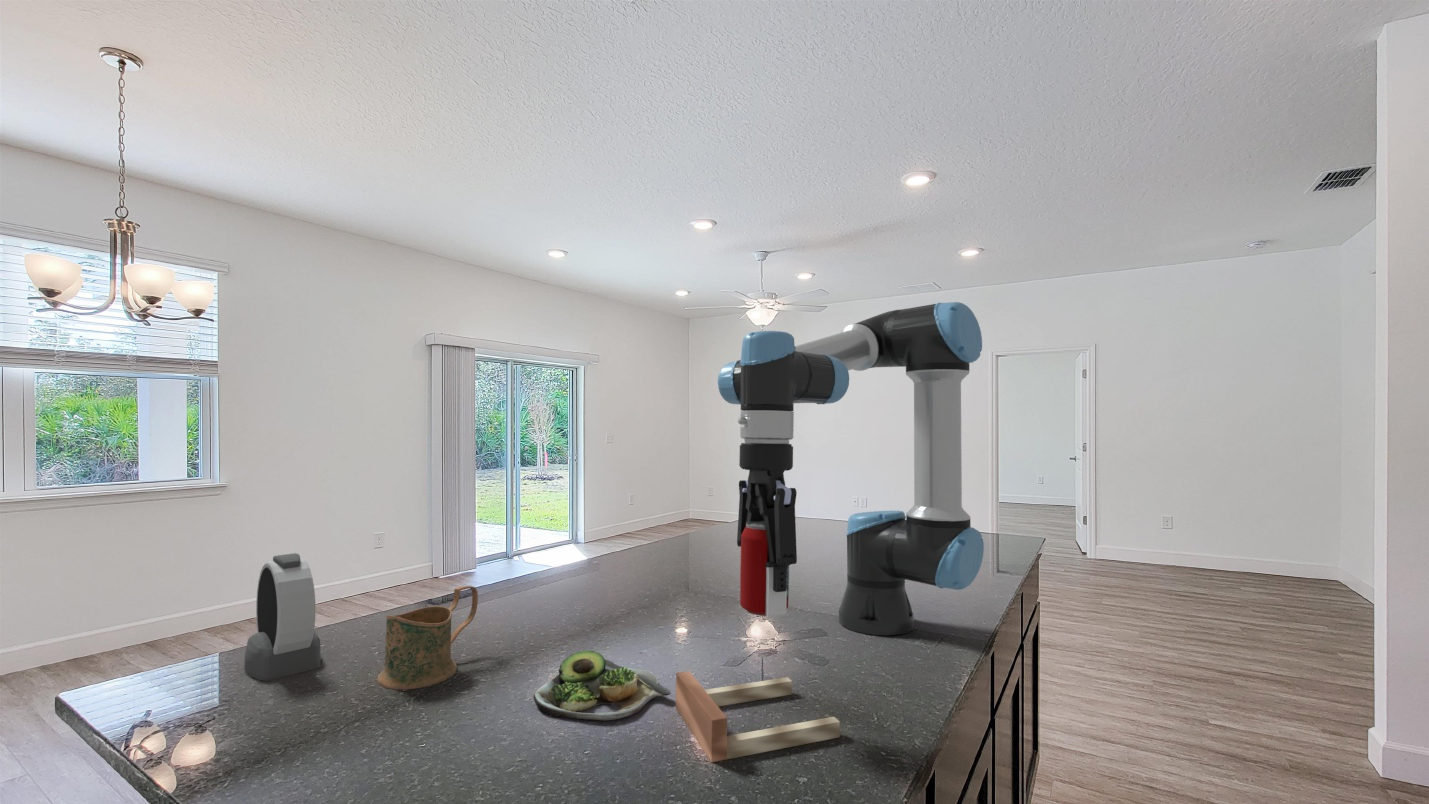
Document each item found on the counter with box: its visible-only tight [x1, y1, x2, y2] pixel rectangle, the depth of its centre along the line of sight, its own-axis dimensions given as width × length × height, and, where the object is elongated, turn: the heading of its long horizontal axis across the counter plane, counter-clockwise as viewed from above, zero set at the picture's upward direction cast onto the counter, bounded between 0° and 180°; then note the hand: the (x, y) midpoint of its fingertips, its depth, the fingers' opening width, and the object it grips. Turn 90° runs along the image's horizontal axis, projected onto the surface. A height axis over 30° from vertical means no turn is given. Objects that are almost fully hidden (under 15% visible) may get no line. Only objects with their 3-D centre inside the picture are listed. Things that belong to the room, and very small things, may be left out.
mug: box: [377, 585, 479, 690], centre depth 102 cm, size 12×18×12 cm, turn 155°
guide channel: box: [675, 670, 841, 763], centre depth 84 cm, size 18×15×5 cm
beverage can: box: [739, 521, 790, 617], centre depth 85 cm, size 7×7×12 cm
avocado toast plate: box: [533, 650, 672, 721], centre depth 92 cm, size 19×18×5 cm
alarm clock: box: [243, 552, 321, 681], centre depth 103 cm, size 16×10×18 cm, turn 47°
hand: (763, 606), depth 85 cm, fingers closed on beverage can, 7 cm apart
